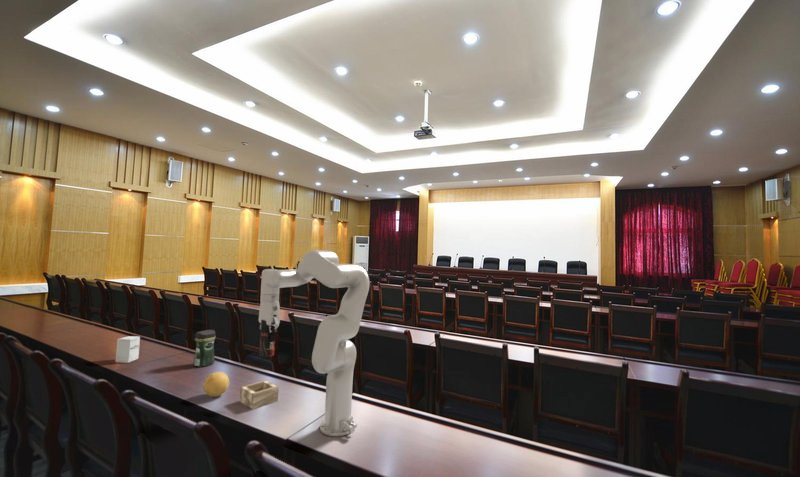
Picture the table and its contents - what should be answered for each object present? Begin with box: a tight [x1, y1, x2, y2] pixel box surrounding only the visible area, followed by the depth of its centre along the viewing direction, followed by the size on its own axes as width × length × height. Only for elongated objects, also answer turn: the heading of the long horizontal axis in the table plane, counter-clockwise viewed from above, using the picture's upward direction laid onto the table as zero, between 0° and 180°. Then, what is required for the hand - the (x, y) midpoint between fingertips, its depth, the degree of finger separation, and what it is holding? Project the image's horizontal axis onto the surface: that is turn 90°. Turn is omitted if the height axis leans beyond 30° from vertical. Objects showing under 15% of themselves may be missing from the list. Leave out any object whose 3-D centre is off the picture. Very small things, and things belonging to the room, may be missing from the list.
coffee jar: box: [193, 329, 216, 368], centre depth 188 cm, size 10×8×19 cm
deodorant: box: [258, 320, 276, 358], centre depth 147 cm, size 6×6×15 cm
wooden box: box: [239, 379, 279, 410], centre depth 145 cm, size 11×11×6 cm
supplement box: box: [115, 335, 141, 364], centre depth 190 cm, size 7×7×13 cm
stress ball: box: [202, 371, 230, 398], centre depth 149 cm, size 10×10×10 cm
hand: (267, 339), depth 147 cm, fingers closed on deodorant, 6 cm apart
